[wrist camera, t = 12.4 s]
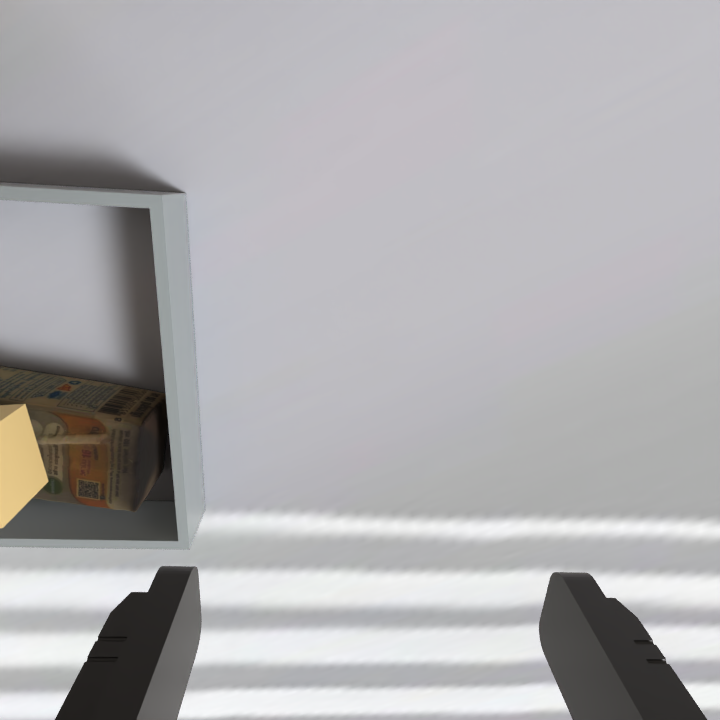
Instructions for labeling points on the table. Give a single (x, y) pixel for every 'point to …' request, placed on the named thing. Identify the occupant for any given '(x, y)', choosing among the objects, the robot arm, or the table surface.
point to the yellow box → (18, 461)
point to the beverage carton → (92, 436)
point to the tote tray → (175, 305)
